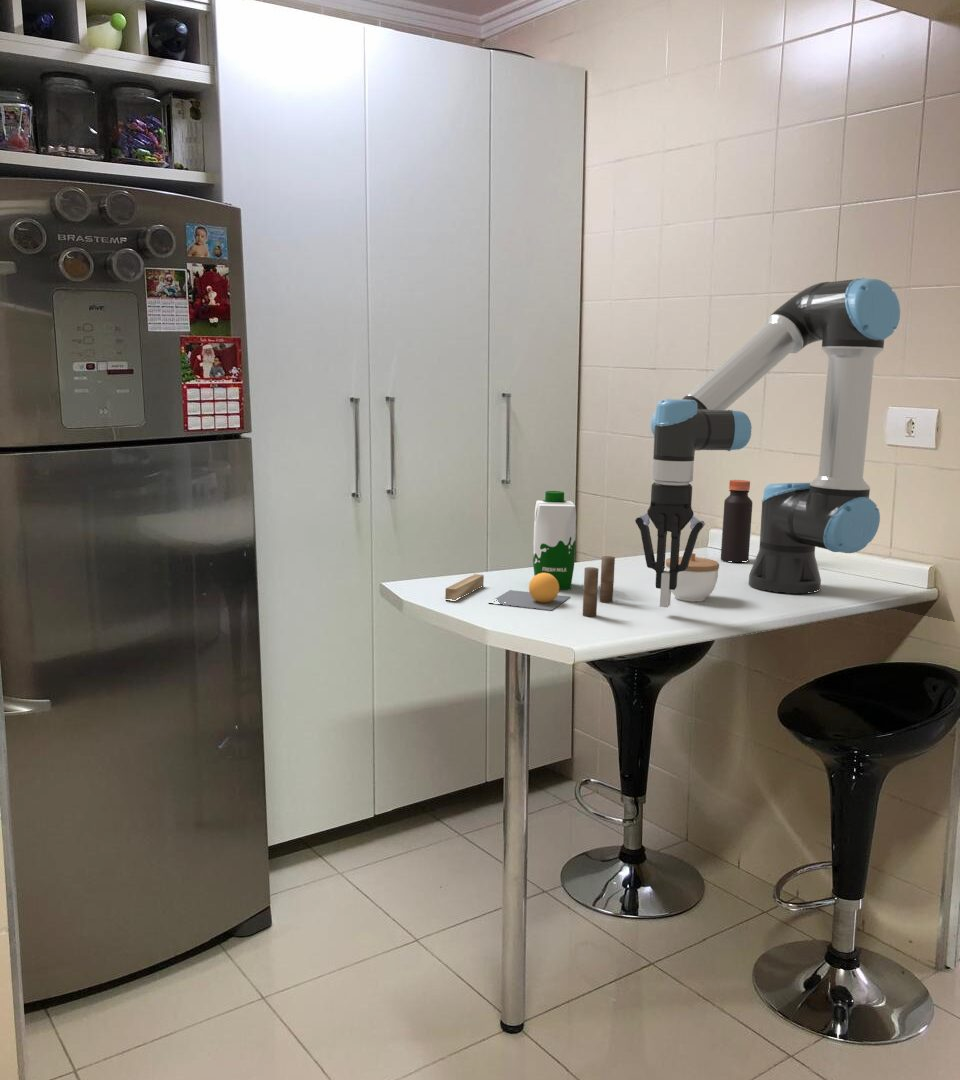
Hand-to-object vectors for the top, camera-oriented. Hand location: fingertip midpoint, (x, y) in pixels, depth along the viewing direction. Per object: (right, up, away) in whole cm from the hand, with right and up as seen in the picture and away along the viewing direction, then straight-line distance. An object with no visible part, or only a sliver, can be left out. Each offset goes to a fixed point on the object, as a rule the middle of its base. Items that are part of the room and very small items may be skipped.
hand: (665, 605), depth 194 cm
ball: (-23, +3, +8) cm, 24 cm away
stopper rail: (-38, +2, +15) cm, 41 cm away
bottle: (+28, +7, +59) cm, 66 cm away
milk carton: (-20, +2, +24) cm, 31 cm away
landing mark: (-25, 0, +10) cm, 27 cm away
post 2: (-10, 0, +11) cm, 15 cm away
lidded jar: (+8, 0, +16) cm, 18 cm away
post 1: (-15, -2, -1) cm, 15 cm away
